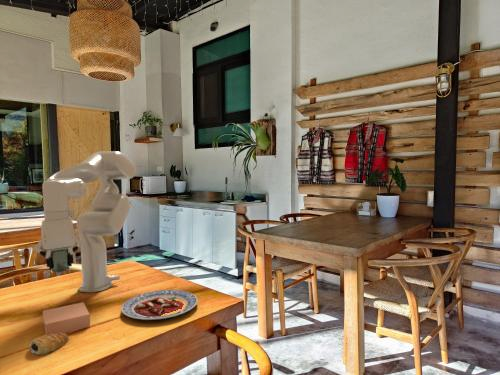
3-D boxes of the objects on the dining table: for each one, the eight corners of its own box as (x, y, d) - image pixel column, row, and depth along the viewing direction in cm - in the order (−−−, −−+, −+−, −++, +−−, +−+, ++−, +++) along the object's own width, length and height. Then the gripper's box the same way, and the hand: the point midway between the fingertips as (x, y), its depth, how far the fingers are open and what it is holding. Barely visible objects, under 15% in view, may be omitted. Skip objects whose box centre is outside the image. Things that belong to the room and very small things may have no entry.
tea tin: (68, 266, 127) (67, 247, 127) (70, 270, 123) (69, 250, 122) (51, 269, 124) (49, 249, 124) (52, 273, 120) (50, 252, 119)
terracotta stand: (84, 313, 120) (83, 302, 120) (90, 326, 110) (89, 314, 110) (43, 322, 114) (42, 310, 114) (45, 337, 104) (45, 324, 104)
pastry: (60, 337, 104) (59, 324, 104) (74, 343, 101) (73, 330, 101) (27, 352, 96) (26, 338, 96) (40, 358, 93) (39, 344, 93)
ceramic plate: (147, 333, 106) (147, 323, 105) (107, 310, 123) (107, 302, 123) (212, 307, 125) (212, 298, 124) (170, 290, 142) (169, 283, 142)
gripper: (82, 212, 130) (85, 260, 131) (27, 217, 120) (31, 269, 122) (85, 214, 123) (88, 265, 125) (27, 220, 114) (32, 274, 116)
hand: (60, 266), depth 123 cm, fingers closed on tea tin, 5 cm apart
